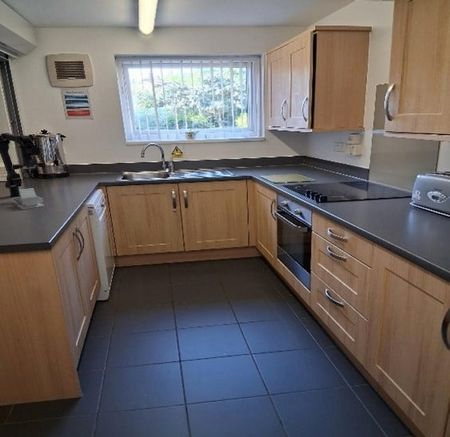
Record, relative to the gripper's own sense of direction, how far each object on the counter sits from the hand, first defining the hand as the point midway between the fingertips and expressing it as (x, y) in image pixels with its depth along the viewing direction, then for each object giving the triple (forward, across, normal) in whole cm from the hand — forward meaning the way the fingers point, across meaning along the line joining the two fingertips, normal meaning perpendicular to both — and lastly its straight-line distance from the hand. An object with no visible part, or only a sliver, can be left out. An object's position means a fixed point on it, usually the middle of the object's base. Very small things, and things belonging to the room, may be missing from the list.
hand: (30, 178), depth 239 cm
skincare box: (+6, -6, -18) cm, 20 cm away
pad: (+13, -6, -28) cm, 32 cm away
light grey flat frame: (+13, -6, -11) cm, 18 cm away
